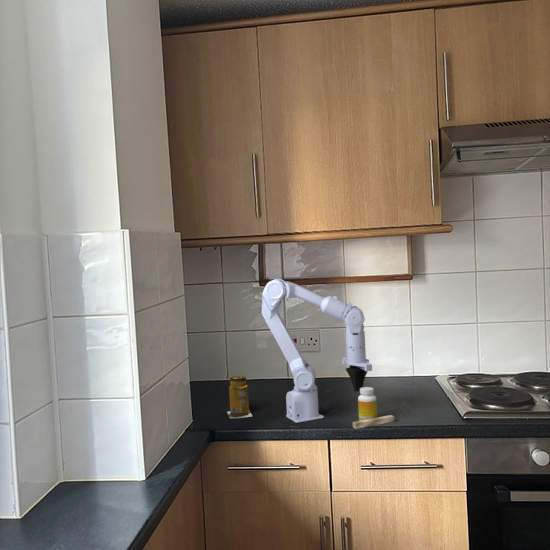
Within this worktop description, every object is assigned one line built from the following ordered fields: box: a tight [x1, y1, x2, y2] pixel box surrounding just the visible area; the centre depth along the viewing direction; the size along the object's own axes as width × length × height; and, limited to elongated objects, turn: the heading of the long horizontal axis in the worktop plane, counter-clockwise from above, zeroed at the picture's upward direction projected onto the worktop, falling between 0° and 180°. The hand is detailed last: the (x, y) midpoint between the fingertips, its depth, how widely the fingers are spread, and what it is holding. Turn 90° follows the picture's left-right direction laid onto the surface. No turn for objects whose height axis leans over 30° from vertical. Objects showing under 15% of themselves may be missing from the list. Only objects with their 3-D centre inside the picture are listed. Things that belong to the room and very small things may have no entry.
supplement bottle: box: [357, 386, 378, 421], centre depth 170 cm, size 5×5×10 cm
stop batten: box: [352, 414, 395, 430], centre depth 166 cm, size 13×2×2 cm, turn 112°
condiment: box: [226, 375, 253, 419], centre depth 184 cm, size 7×8×12 cm
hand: (358, 390), depth 175 cm, fingers closed
